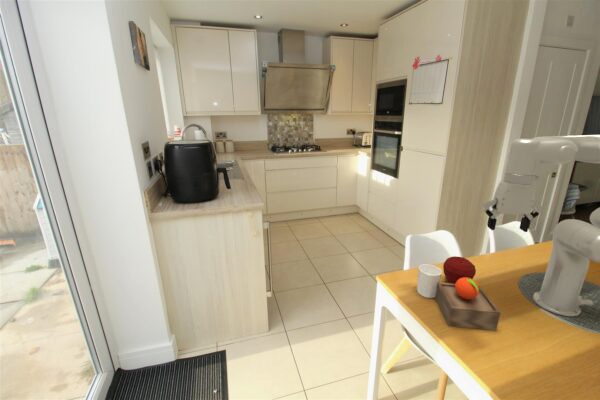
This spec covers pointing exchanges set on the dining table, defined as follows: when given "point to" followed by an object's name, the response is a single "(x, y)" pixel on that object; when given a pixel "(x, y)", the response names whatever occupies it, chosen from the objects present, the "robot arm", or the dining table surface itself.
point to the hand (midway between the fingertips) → (506, 229)
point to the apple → (458, 269)
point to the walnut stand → (467, 308)
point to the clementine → (466, 288)
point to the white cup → (428, 280)
